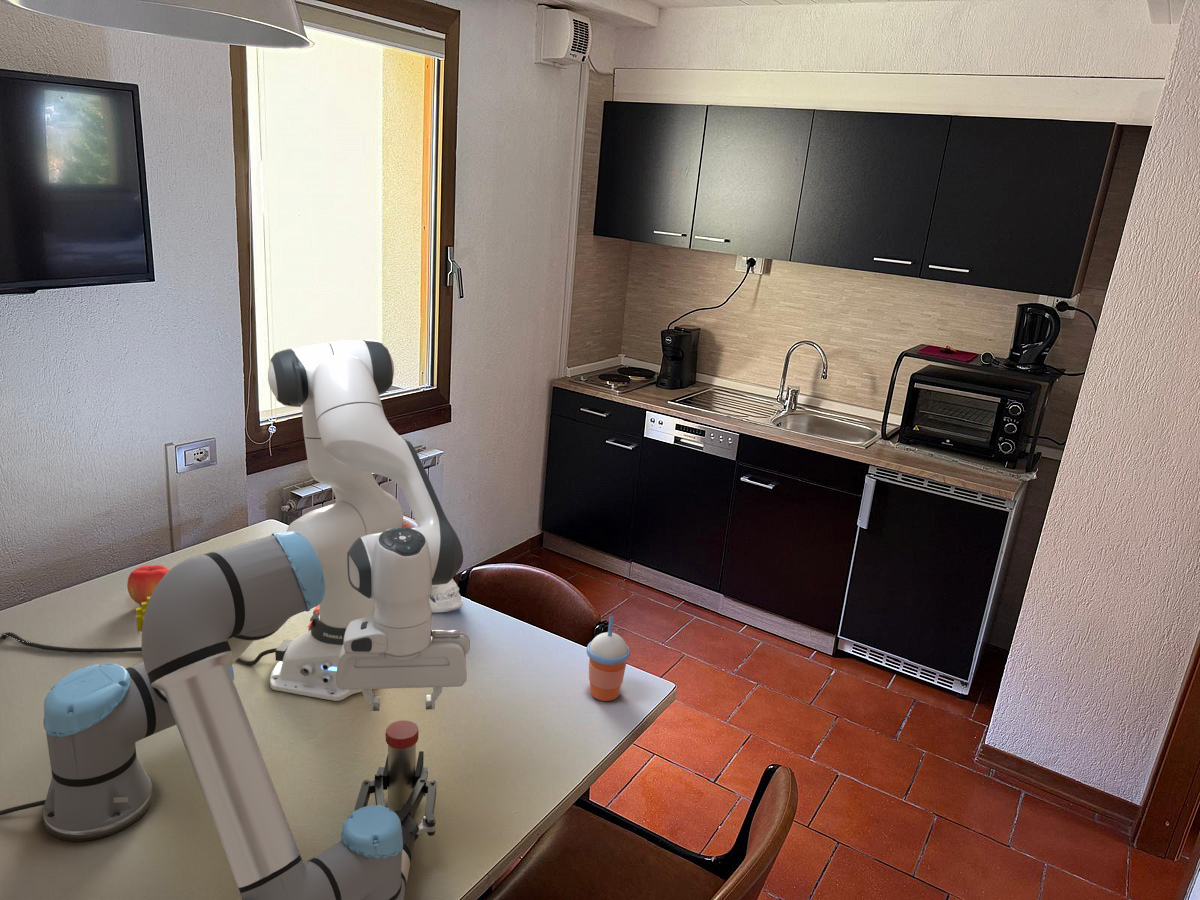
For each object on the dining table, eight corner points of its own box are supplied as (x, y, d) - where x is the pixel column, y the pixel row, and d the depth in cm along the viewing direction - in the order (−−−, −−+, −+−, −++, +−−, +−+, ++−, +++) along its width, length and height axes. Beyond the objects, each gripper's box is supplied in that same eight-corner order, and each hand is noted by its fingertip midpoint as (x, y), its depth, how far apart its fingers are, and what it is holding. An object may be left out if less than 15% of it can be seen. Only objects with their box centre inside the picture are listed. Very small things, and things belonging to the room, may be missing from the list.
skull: (448, 622, 203) (451, 561, 199) (372, 599, 211) (374, 540, 207) (477, 602, 215) (480, 543, 211) (405, 581, 223) (406, 524, 219)
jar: (389, 800, 145) (390, 723, 141) (416, 800, 146) (417, 723, 141) (386, 819, 141) (386, 740, 136) (413, 818, 141) (414, 740, 137)
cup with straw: (621, 709, 175) (629, 631, 170) (578, 700, 177) (585, 623, 172) (629, 685, 184) (636, 610, 179) (588, 677, 185) (594, 603, 180)
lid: (388, 729, 141) (388, 719, 141) (420, 729, 142) (420, 720, 141) (383, 749, 136) (383, 739, 136) (416, 749, 137) (416, 739, 136)
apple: (178, 610, 199) (175, 571, 196) (132, 618, 194) (128, 578, 191) (171, 592, 207) (168, 555, 204) (127, 600, 202) (123, 562, 199)
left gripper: (323, 881, 125) (354, 775, 147) (444, 881, 126) (457, 776, 149) (322, 839, 122) (353, 738, 145) (445, 840, 124) (458, 739, 146)
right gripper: (470, 620, 138) (468, 695, 142) (338, 622, 135) (340, 699, 139) (470, 640, 132) (468, 717, 136) (332, 642, 129) (335, 722, 133)
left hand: (406, 757), depth 146 cm, fingers closed on jar, 4 cm apart
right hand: (403, 708), depth 137 cm, fingers open, 7 cm apart
